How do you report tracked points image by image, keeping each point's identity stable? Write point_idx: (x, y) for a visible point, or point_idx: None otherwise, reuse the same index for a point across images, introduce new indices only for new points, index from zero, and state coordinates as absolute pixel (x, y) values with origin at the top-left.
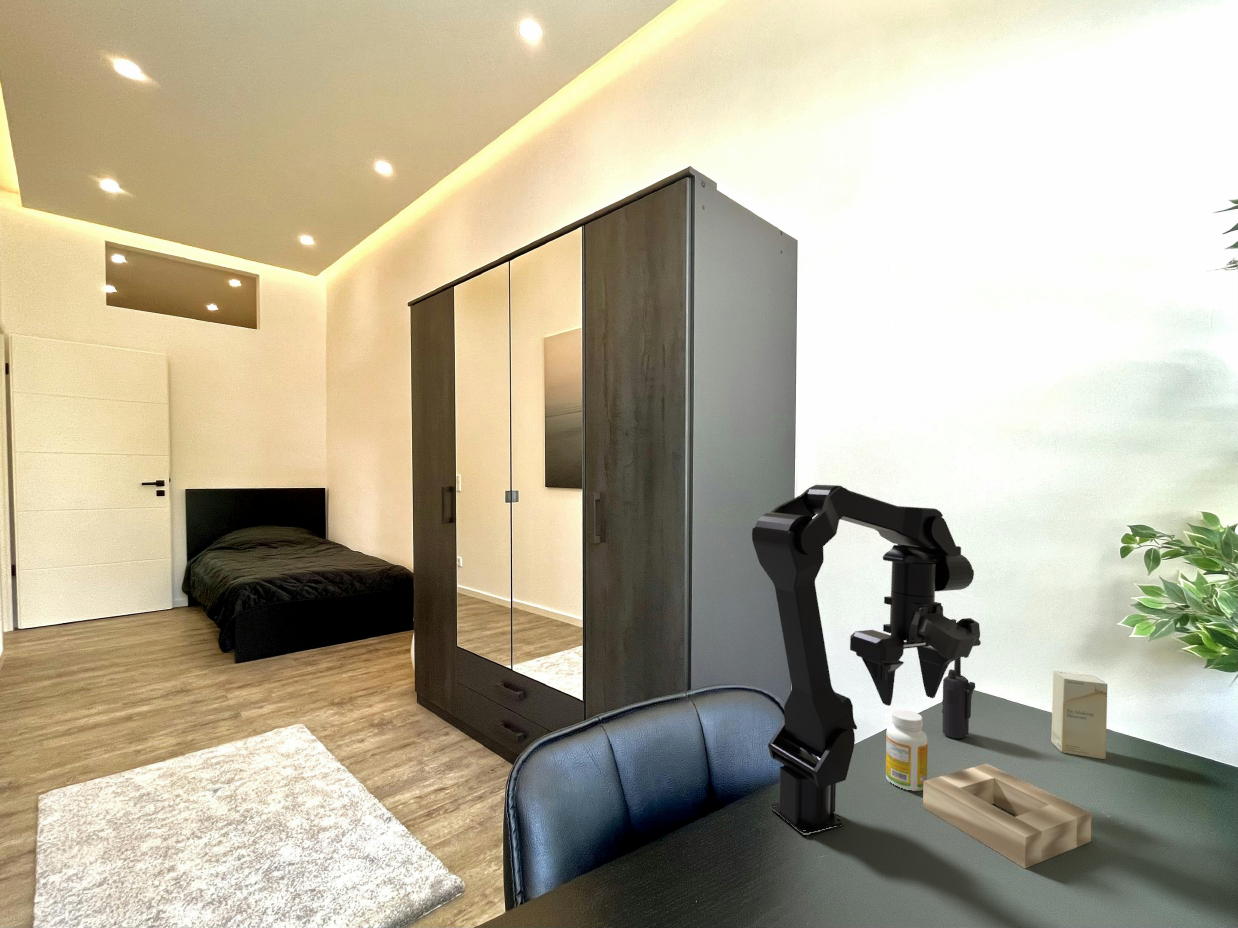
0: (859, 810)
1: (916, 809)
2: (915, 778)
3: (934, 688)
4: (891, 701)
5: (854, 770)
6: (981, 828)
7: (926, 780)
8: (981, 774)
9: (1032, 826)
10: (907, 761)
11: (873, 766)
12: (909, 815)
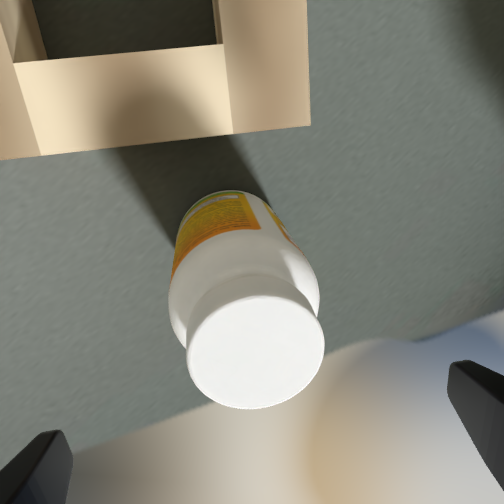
0: (455, 156)
1: (315, 117)
2: (252, 199)
3: (25, 485)
4: (468, 374)
5: None
6: None
7: (296, 125)
8: (48, 100)
9: None
10: (282, 226)
11: None
12: (358, 98)
